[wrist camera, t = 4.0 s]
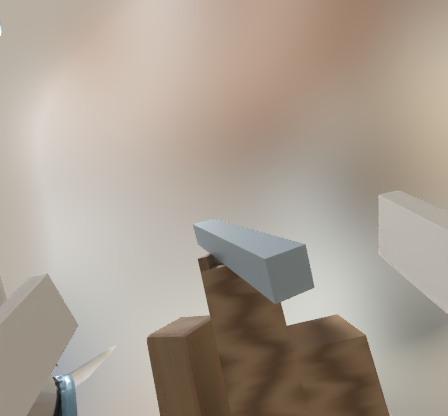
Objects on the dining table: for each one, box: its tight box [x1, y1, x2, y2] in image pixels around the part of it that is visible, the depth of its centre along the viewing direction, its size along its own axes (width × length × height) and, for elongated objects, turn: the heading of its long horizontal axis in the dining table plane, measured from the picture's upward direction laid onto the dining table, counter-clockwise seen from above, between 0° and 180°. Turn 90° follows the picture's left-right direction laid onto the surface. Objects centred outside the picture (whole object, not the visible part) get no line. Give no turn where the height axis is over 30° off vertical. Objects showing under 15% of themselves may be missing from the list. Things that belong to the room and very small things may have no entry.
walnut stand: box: [198, 254, 389, 416], centre depth 35 cm, size 16×16×32 cm
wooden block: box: [147, 316, 232, 416], centre depth 46 cm, size 10×10×20 cm
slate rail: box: [193, 219, 314, 304], centre depth 31 cm, size 4×26×4 cm, turn 15°
